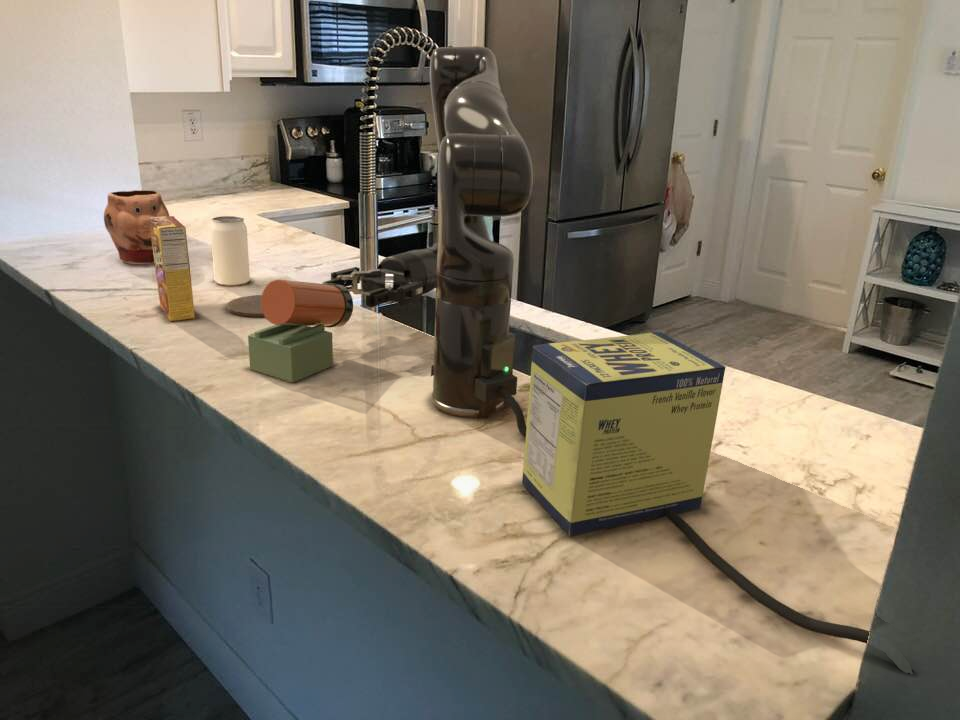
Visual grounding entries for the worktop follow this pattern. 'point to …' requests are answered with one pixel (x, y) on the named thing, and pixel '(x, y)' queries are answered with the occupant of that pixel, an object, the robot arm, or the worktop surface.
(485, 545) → the worktop surface
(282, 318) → the jar
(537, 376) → the protein box
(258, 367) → the stand
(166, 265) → the candy box
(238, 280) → the can
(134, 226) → the decorative planter
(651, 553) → the worktop surface
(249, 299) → the coaster
